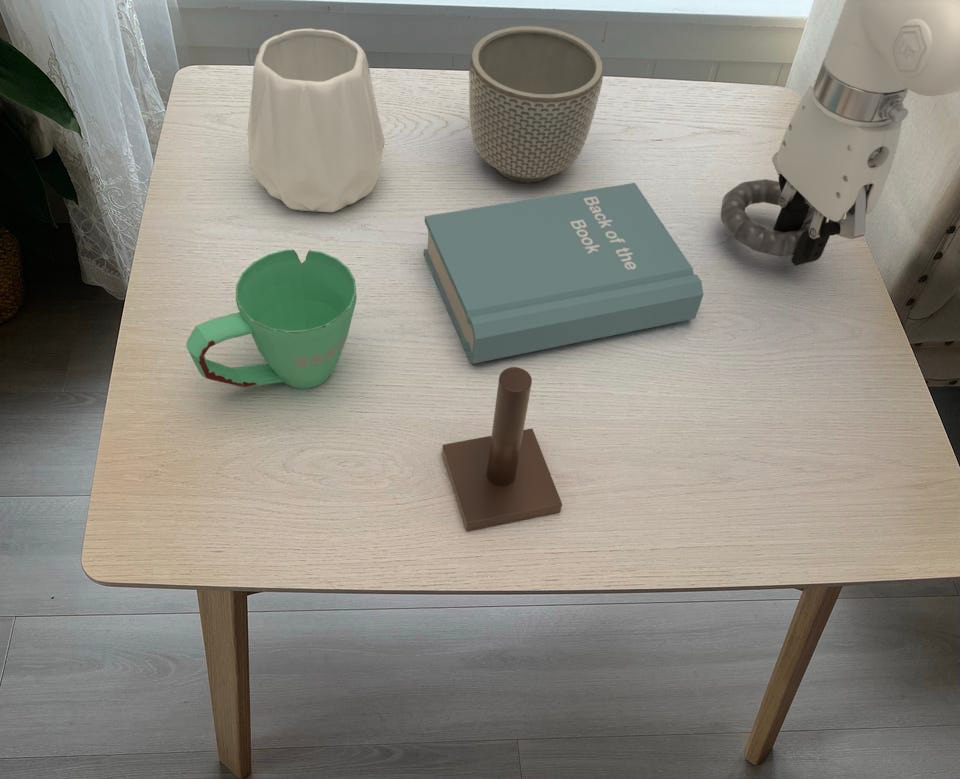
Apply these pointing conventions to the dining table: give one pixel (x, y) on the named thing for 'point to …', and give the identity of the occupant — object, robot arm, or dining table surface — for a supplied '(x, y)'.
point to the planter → (532, 100)
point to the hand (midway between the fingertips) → (794, 248)
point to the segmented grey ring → (751, 231)
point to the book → (558, 271)
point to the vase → (314, 121)
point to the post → (502, 464)
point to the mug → (284, 321)
